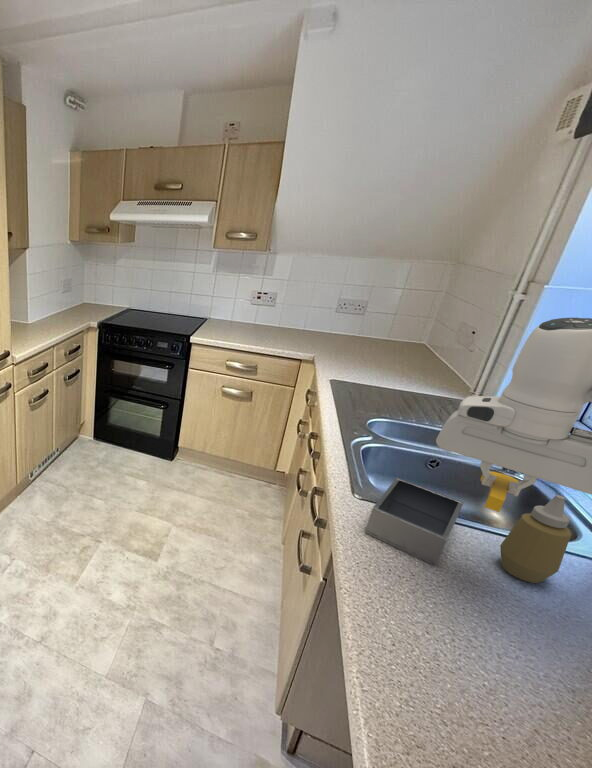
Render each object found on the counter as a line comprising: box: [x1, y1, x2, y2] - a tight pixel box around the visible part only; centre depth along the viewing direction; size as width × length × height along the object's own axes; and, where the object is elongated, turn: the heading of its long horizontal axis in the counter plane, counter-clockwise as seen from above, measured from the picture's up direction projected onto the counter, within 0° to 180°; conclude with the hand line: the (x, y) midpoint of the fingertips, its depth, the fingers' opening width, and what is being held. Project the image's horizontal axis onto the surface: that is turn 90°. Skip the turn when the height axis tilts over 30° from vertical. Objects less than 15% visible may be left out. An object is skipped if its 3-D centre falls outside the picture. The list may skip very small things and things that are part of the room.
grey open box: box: [364, 477, 465, 567], centre depth 92 cm, size 19×13×7 cm
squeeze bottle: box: [499, 494, 572, 584], centre depth 79 cm, size 8×8×18 cm
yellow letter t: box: [480, 470, 520, 513], centre depth 73 cm, size 5×14×2 cm, turn 131°
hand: (498, 489), depth 72 cm, fingers closed on yellow letter t, 2 cm apart
